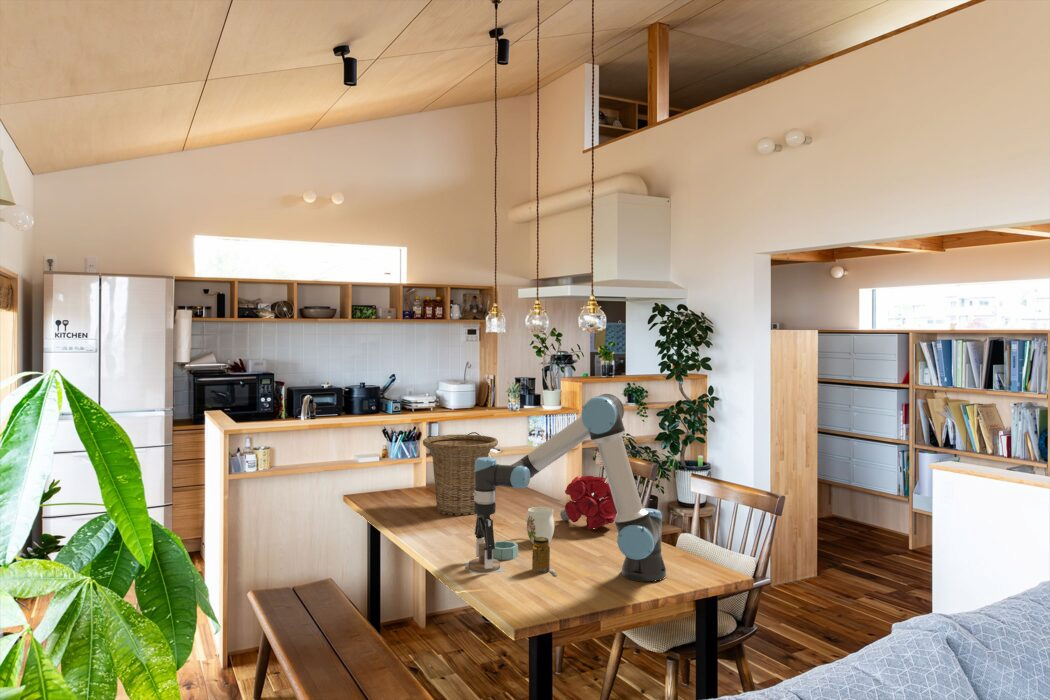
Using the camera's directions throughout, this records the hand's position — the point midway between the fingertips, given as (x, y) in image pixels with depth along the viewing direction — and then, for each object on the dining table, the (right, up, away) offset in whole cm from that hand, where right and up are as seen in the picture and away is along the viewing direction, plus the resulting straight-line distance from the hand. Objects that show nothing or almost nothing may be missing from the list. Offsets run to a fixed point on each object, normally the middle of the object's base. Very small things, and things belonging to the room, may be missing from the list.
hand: (484, 562), depth 257 cm
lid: (0, -2, 0) cm, 2 cm away
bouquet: (+42, -2, +58) cm, 72 cm away
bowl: (+6, -2, +13) cm, 15 cm away
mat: (0, -2, 0) cm, 2 cm away
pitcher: (+20, -2, +34) cm, 40 cm away
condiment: (+21, -3, -3) cm, 21 cm away
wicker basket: (-16, -1, +85) cm, 87 cm away
